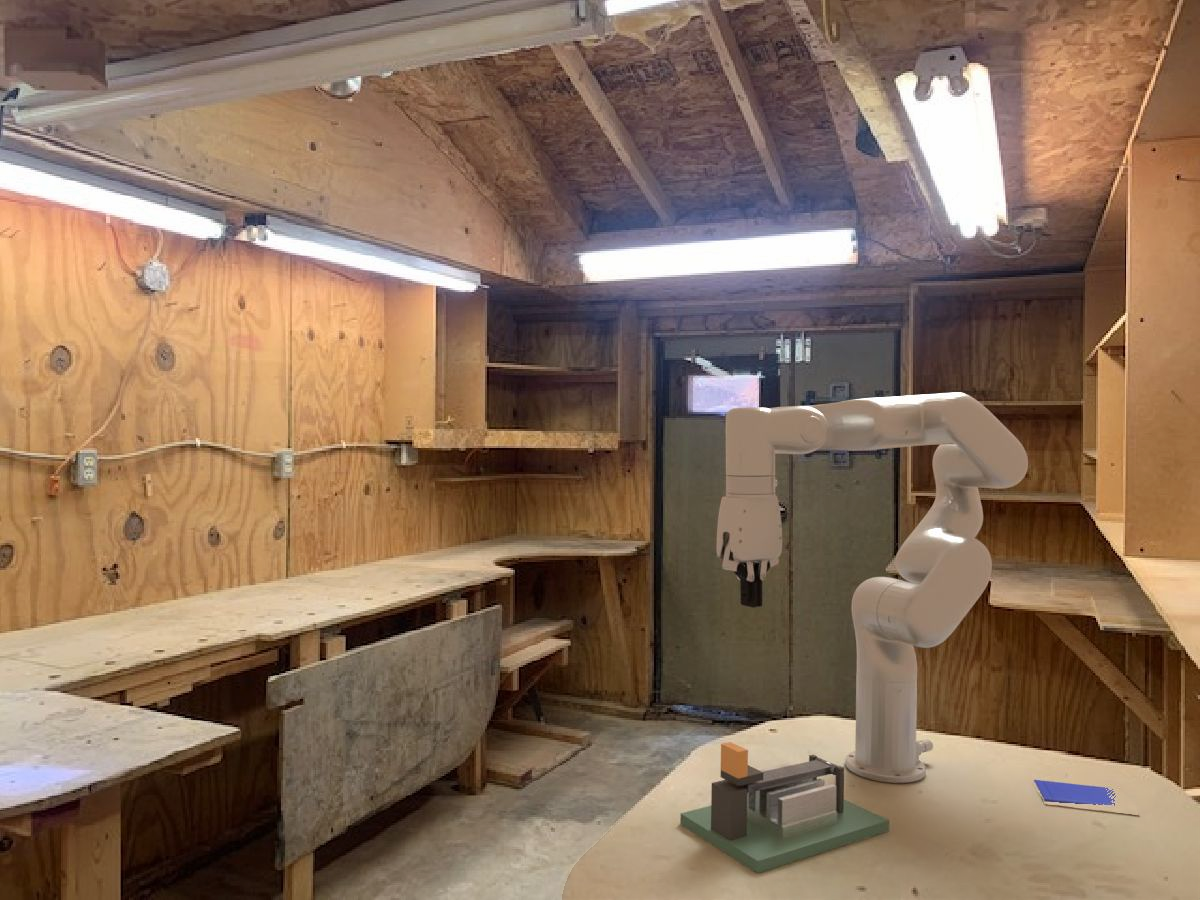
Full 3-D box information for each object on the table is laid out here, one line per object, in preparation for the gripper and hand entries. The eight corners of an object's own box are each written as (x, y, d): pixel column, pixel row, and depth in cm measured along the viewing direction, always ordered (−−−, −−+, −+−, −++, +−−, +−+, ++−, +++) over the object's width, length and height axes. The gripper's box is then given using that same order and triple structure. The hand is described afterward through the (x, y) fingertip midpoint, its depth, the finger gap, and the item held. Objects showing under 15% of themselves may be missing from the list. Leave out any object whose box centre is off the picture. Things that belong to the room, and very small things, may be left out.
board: (805, 790, 133) (806, 740, 133) (889, 830, 119) (889, 774, 119) (680, 824, 121) (681, 768, 121) (757, 873, 107) (758, 810, 107)
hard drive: (1121, 787, 134) (1033, 778, 137) (1138, 808, 126) (1044, 797, 129) (1121, 798, 134) (1033, 788, 137) (1138, 819, 126) (1044, 808, 129)
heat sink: (785, 796, 127) (786, 763, 127) (837, 822, 118) (837, 786, 118) (733, 810, 122) (733, 775, 122) (782, 838, 113) (783, 800, 113)
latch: (745, 771, 119) (745, 738, 119) (763, 779, 116) (763, 746, 116) (720, 777, 116) (721, 743, 116) (738, 786, 113) (738, 752, 113)
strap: (820, 766, 126) (820, 756, 126) (838, 774, 123) (839, 764, 123) (732, 785, 117) (732, 775, 117) (749, 795, 114) (750, 784, 114)
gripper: (768, 484, 141) (769, 597, 141) (697, 488, 132) (698, 607, 133) (803, 486, 134) (803, 604, 134) (730, 490, 126) (731, 615, 126)
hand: (751, 605), depth 134 cm, fingers closed
